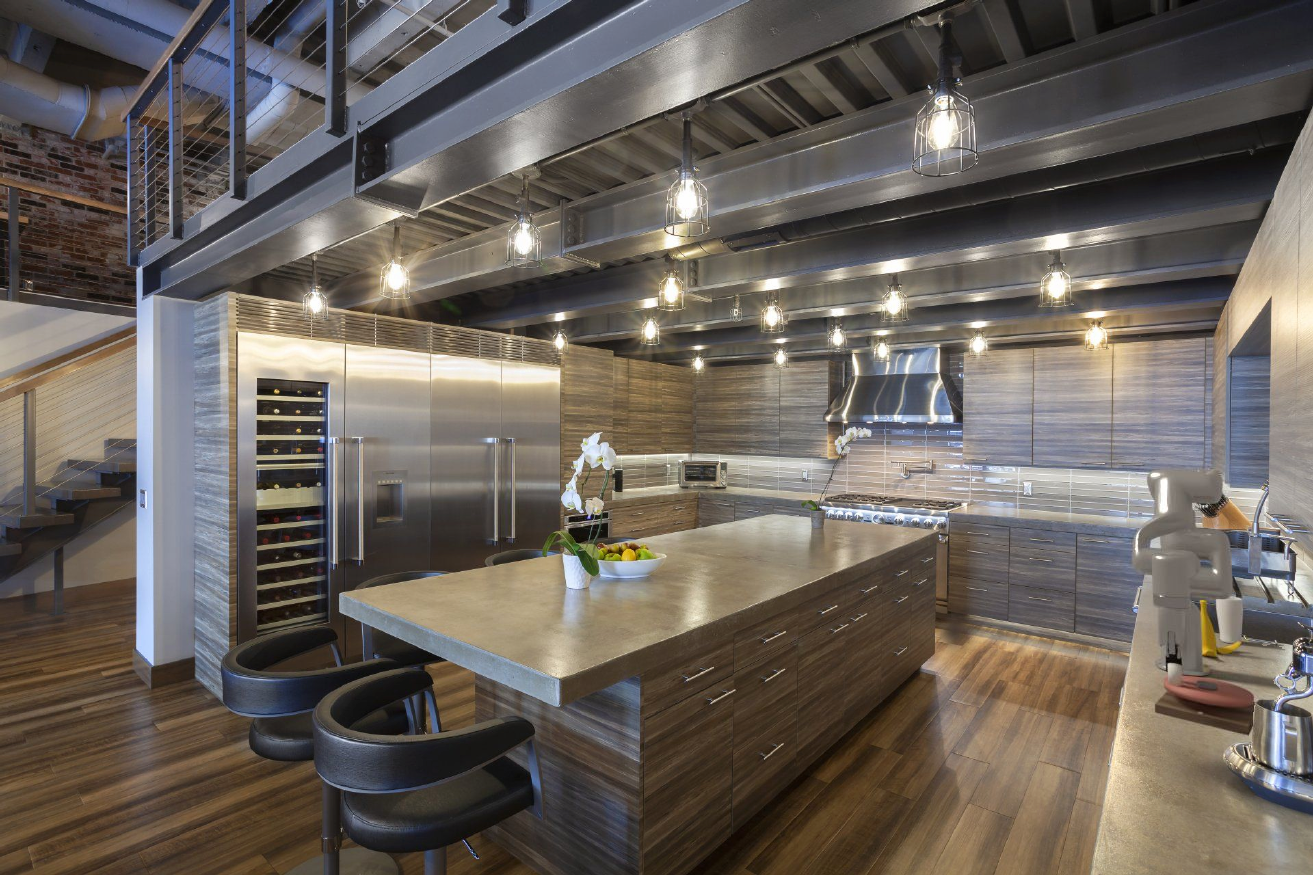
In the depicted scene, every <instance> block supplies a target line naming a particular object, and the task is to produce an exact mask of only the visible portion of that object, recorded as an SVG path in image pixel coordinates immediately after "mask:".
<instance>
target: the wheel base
mask: <svg viewBox="0 0 1313 875" xmlns="http://www.w3.org/2000/svg"><path fill="white" fill-rule="evenodd" d="M1255 703H1256V701H1254V704H1253V705H1251V706H1248V707H1223V706H1215V705H1209V704H1204V703H1199V702H1195V701H1192V700H1188V699H1185V698H1182V697H1179V696H1177V695H1174V694H1172V693H1170V692H1169V691H1167V690H1166V692H1165V693H1164V694H1163V695H1162V696H1161V697H1160V698H1159V699H1158V700H1157V702H1155V703H1154V712H1155V714H1156V713H1157V714H1160V715H1164V716H1168V717H1173V718H1176V719H1181V720H1185V721H1189V722H1193V723H1198V724H1202V725H1204V726H1205V725H1206V726H1210V727H1214V728H1218V729H1222V730H1226V731H1230V732H1234V733H1239V734H1243V735H1247V736H1249V735H1250V734H1251V731H1252V730H1253V728H1254V726H1253V712H1254V705H1255ZM1252 727H1253V728H1252Z"/></svg>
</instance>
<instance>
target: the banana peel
mask: <svg viewBox="0 0 1313 875" xmlns="http://www.w3.org/2000/svg"><path fill="white" fill-rule="evenodd" d="M1199 603H1200V613H1201V630H1202V656H1204V657H1205V656H1206V657H1214V658H1218V654H1221V655H1228V654H1231V653H1233V652H1234V651H1236V650H1237V649H1238V648H1239V647H1240V646H1241V645H1242V641H1241V642H1239V641H1238V642H1236V643H1235V644H1230V645H1227V646H1224V647H1218V646H1217V641H1216V634H1215V630H1214V627H1213V624H1212V621H1211V620H1210V617H1209V615H1208V610H1207V608H1208V607H1207V605H1208V601H1207V600H1204V599H1202V600H1201V599H1200V600H1199Z"/></svg>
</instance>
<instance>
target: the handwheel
mask: <svg viewBox="0 0 1313 875" xmlns="http://www.w3.org/2000/svg"><path fill="white" fill-rule="evenodd" d="M1163 687H1164V689H1165V690H1166V692H1167V691H1169V692H1170V693H1172V694H1174V695H1177V696H1179V697H1182V698H1185V699H1188V700H1192V701H1195V702H1199V703H1204V704H1209V705H1215V706H1223V707H1248V706H1251V705H1253V704H1254V702H1255V696H1254V693H1252V692H1251V691H1249V690H1248V689H1246V688H1245V687H1244V688H1243V687H1241V686H1239V685H1236V684H1234V683H1229V682H1226V681H1224V680H1223V681H1222V680H1219V679H1213V678H1208V677H1203V676H1192V675H1183V674H1182V666H1181V665H1179V664H1175V663H1168V672H1167V677H1165V678H1163Z"/></svg>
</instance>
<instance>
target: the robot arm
mask: <svg viewBox="0 0 1313 875" xmlns="http://www.w3.org/2000/svg"><path fill="white" fill-rule="evenodd" d="M1146 483H1147V487H1148V490H1149V493H1150V495H1151V497H1152V499H1153V501H1154V503H1153V505H1154V506H1153V517H1152V518H1151V519H1148V520H1147V521H1146V522H1145V523H1143V524H1142V525H1141V526H1140V527H1139V528H1138V530H1137V531H1136V532H1135V534H1134V536H1133V539H1132V552H1131V564H1132V567H1133V569H1134V570H1135V571H1136V573H1138V574H1141V575H1143V576H1144V575H1146V576H1151V577H1152V579H1151V581H1152V603H1153V604H1152V606H1153V607H1156V608H1158V609H1157V632H1158V633H1157V634H1158V635H1157V637H1158V640H1157V644H1158V646H1160V653H1161V654H1160V656H1161V658H1158V659H1156V660H1155V661H1154V662H1155V663H1154V664H1155V666H1156V668H1159V669H1161V670H1164V671H1166V673H1168V663H1175V664H1179V665H1181V666H1182V676H1194V677H1203V676H1205V677H1206V676H1208V675H1210V674H1211V669H1210V668H1209V667H1208V666H1206V665H1204V663H1203V662H1204V660H1203V656H1204V655H1202V630H1201V609H1199V607H1198V606H1197V605H1196V604H1195V603H1194V601H1193V600H1191V598H1202V599H1203V598H1205V599H1212V600H1216V599H1227V598H1229V597H1230V596H1232V594H1233V570H1232V569H1233V568H1232V567H1233V566H1232V551H1231V544H1230V543H1231V542H1230V539H1229V537H1228V535H1227V533H1225V532H1224V531H1222V530H1220V529H1216V528H1201V527H1200V528H1199V527H1197V524H1196V523H1197V522H1196V520H1197V519H1196V512H1195V509H1194V508H1193V504H1210V505H1211V504H1217V503H1219V502H1220V501H1221V498H1222V496H1223V490H1224V489H1223V487H1224V482H1223V478H1222V475H1221V473H1220V472H1219V470H1216V469H1212V468H1161V469H1154V470H1151V471H1150V472H1149V473H1148V474H1147V477H1146ZM1157 538H1159V540H1160V544H1159V545H1160V547H1146V546H1147V545H1148V543H1150V542H1151V541H1152V540H1154V539H1157ZM1201 561H1204V562H1208V563H1210V565H1209V564H1208V565H1207V564H1206V565H1205V564H1201Z"/></svg>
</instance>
